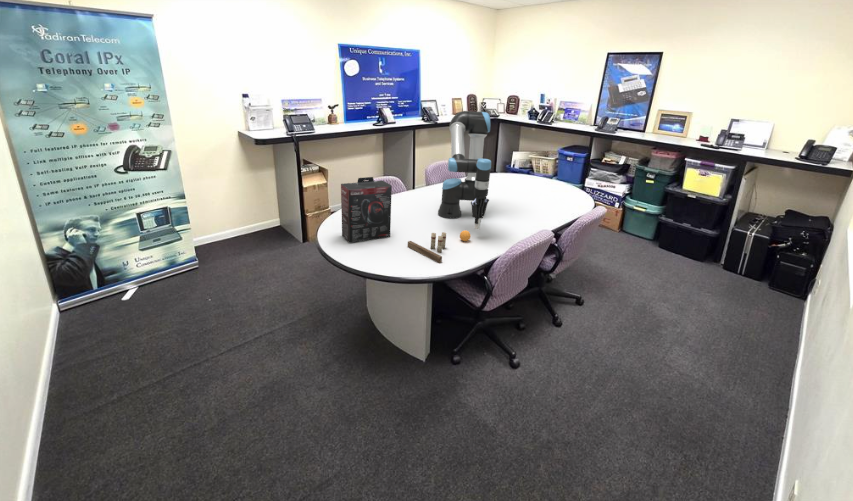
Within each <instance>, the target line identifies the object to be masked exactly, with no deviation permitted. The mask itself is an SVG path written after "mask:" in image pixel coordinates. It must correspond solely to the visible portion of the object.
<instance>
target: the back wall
mask: <svg viewBox="0 0 853 501" xmlns="http://www.w3.org/2000/svg"><path fill="white" fill-rule="evenodd" d="M407 248H409V249H411V250H412V251H414V252H416V253H419V254H421V255H423V256H424V257H427V258H428V259H429V260H430V259H431V261H434V262H436V263H438V264H439V263H440V264H441V263H442V262H443V256H442V255H440V254H438V253H437V252H434V251H432V250H431V249H430V250H429V249H428V248H426V247H424V246H422V245H420V244H418V243H416V242H415V241H412V240H408V241H407Z"/></svg>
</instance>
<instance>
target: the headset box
mask: <svg viewBox="0 0 853 501" xmlns="http://www.w3.org/2000/svg"><path fill="white" fill-rule="evenodd" d="M392 190H393V189H392V185H391V184H390V183H389V182H386V181H384V180H374V176H369V177H368V176H367V177H366V176H365V177H358V178H357V182H348V183H340V201H341V204H340V205H341V206H340V207H341V236H342V238H344V239H345V240H346V241H347V242H348V243H349V244H351V243H359V242H364V241H366V242H367V241H372V240H378V239H384V238H390V237H391V222H392V221H391V220H392V215H391V214H392V192H393V191H392Z"/></svg>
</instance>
